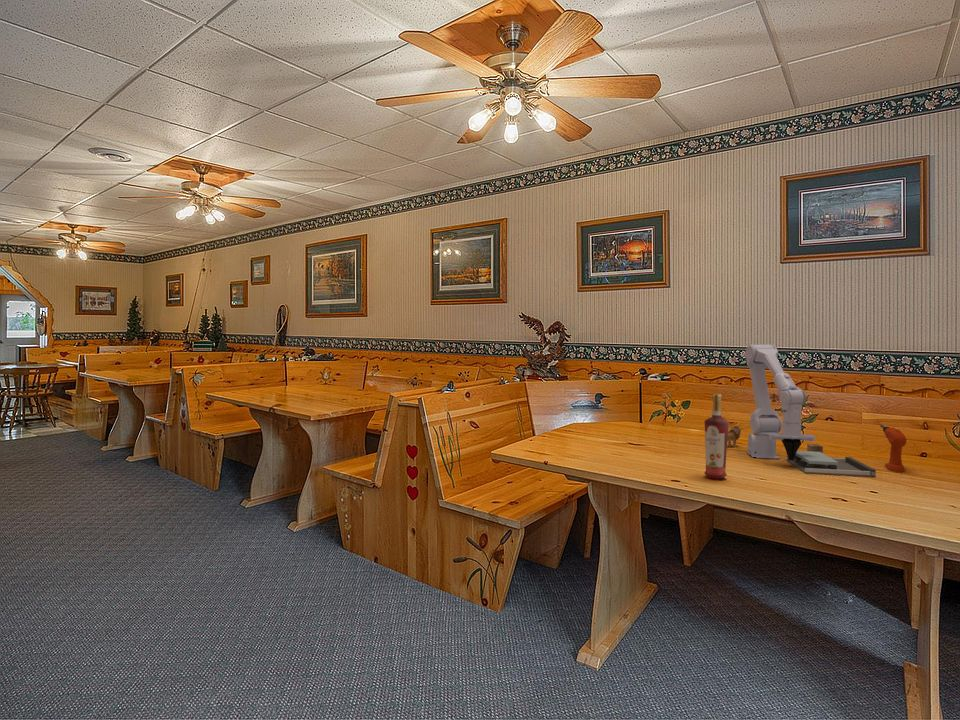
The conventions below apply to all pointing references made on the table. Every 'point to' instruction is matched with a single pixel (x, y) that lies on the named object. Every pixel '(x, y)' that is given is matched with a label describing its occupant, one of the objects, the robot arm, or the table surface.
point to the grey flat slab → (815, 459)
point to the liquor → (716, 442)
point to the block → (814, 448)
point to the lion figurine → (733, 435)
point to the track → (843, 468)
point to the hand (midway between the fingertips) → (790, 459)
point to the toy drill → (895, 448)
